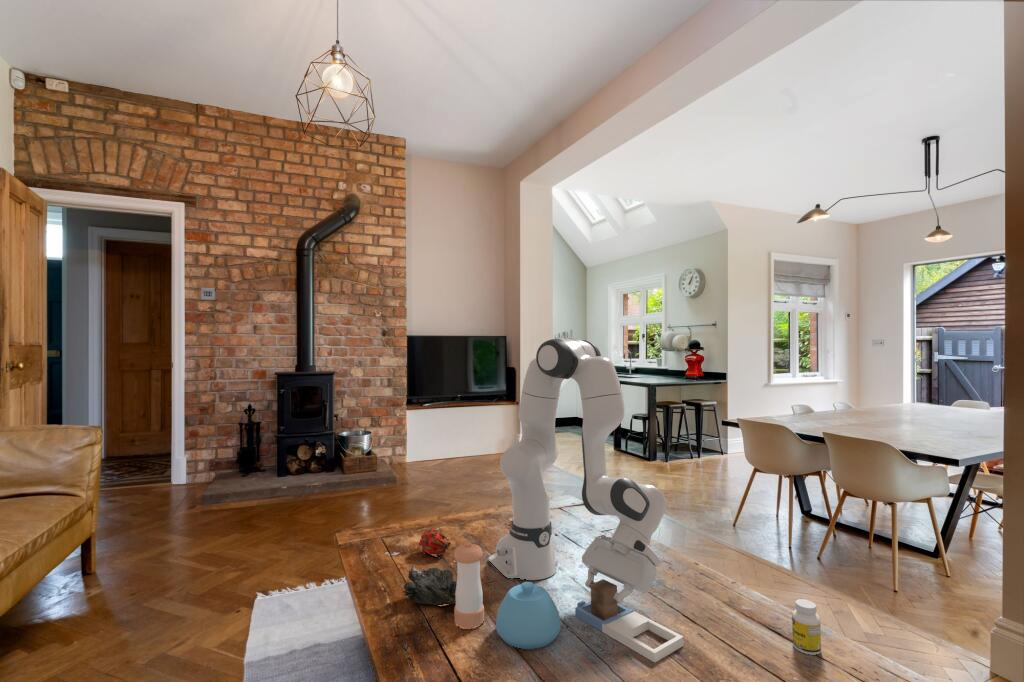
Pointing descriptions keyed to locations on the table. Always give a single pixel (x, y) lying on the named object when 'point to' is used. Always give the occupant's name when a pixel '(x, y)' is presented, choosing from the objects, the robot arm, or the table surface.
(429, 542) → the dragon fruit
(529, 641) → the sugar bowl
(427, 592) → the mineral specimen
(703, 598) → the table surface
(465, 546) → the pepper shaker
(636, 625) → the two-window frame tray
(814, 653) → the supplement bottle
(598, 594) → the walnut block
